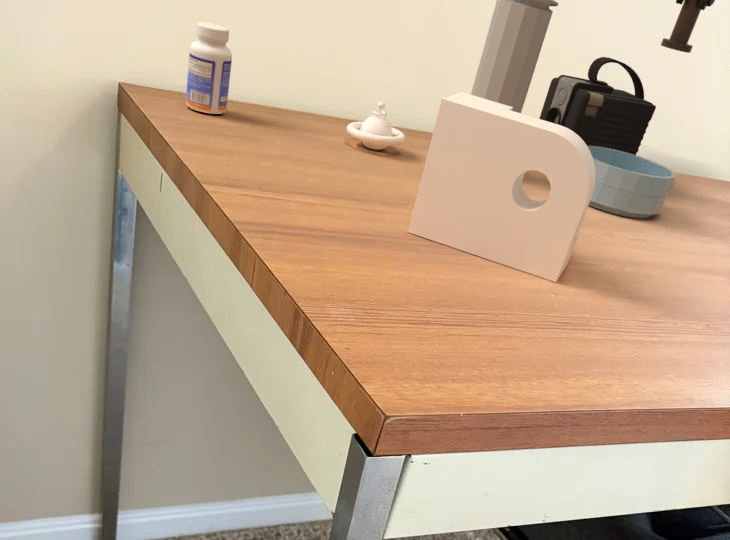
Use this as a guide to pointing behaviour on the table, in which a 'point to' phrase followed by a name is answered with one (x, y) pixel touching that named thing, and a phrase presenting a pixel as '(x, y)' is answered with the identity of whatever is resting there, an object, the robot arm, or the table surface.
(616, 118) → the camera
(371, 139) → the ring around a ball
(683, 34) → the stirring stick
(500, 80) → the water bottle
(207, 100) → the pill bottle
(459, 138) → the white holed block
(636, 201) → the bowl
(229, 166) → the table surface
